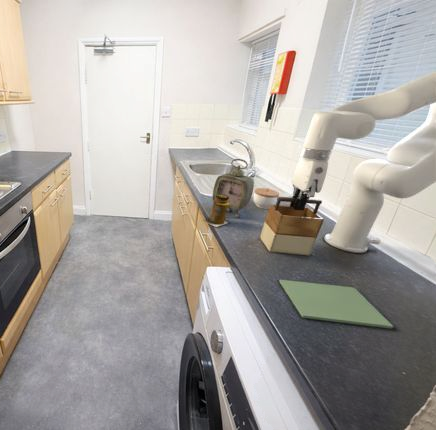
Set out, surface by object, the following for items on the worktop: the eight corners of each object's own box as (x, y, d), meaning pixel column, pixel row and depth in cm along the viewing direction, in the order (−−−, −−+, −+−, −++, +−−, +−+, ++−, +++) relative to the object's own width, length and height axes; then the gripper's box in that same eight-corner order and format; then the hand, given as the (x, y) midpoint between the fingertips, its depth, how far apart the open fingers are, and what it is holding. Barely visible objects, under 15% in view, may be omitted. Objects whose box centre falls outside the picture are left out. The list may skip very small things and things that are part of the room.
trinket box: (275, 205, 132) (281, 187, 128) (274, 212, 124) (279, 193, 120) (252, 200, 138) (256, 183, 134) (249, 207, 129) (254, 189, 125)
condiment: (228, 222, 113) (235, 196, 108) (216, 227, 109) (222, 200, 104) (214, 216, 118) (219, 191, 113) (202, 220, 114) (206, 194, 109)
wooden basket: (302, 224, 97) (313, 194, 92) (317, 238, 88) (330, 205, 83) (264, 221, 99) (272, 192, 94) (274, 234, 90) (284, 202, 85)
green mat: (353, 289, 76) (354, 287, 75) (392, 328, 63) (393, 326, 63) (279, 281, 78) (279, 279, 78) (302, 317, 66) (303, 315, 65)
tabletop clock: (209, 210, 125) (219, 157, 114) (218, 205, 131) (229, 154, 120) (239, 220, 116) (254, 163, 105) (248, 214, 121) (262, 160, 111)
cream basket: (295, 240, 100) (301, 224, 97) (309, 255, 91) (316, 238, 88) (259, 237, 102) (264, 221, 99) (269, 251, 93) (275, 234, 90)
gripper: (344, 161, 75) (321, 219, 83) (314, 150, 89) (297, 200, 97) (315, 159, 76) (295, 217, 84) (290, 149, 90) (275, 199, 98)
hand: (296, 208), depth 90 cm, fingers closed
